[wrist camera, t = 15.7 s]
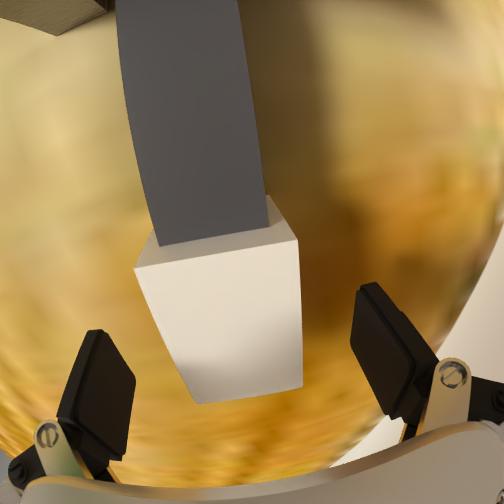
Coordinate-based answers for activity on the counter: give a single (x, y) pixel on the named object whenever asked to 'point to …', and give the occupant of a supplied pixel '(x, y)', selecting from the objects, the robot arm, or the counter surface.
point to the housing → (52, 13)
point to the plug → (208, 203)
